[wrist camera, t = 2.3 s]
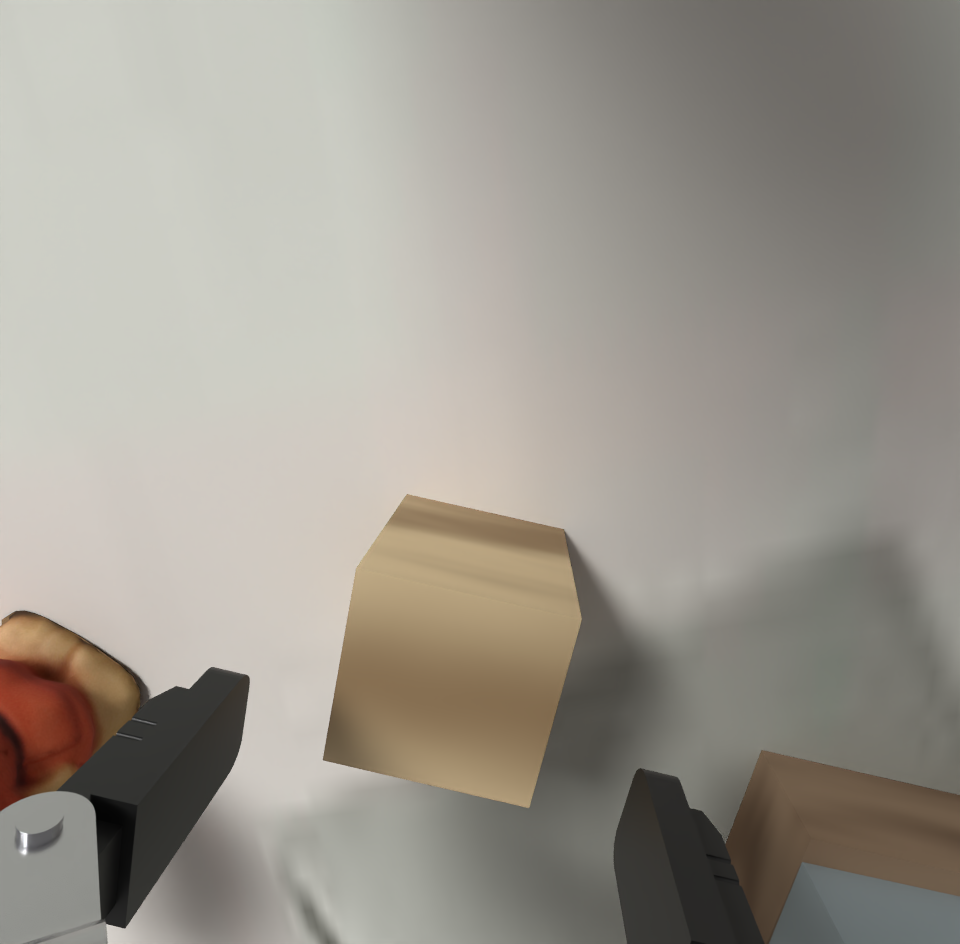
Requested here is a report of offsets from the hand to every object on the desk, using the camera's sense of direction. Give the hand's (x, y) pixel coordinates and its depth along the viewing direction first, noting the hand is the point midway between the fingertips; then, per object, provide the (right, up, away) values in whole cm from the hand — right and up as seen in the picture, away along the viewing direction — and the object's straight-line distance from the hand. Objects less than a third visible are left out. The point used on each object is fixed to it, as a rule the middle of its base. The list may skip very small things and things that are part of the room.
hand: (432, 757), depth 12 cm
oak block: (+1, +2, +7) cm, 8 cm away
